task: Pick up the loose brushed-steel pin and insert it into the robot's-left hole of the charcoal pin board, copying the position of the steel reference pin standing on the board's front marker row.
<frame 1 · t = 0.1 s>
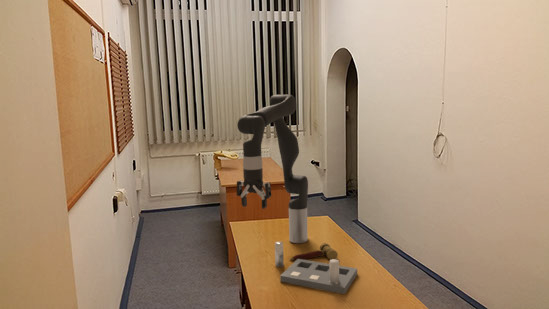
hand: (254, 207, 161), 29 cm above the table, tool pointing down, fingers open, 8 cm apart
gavel: (311, 259, 183), on the table
steel pin: (279, 265, 176), on the table
pin board: (319, 277, 162), on the table
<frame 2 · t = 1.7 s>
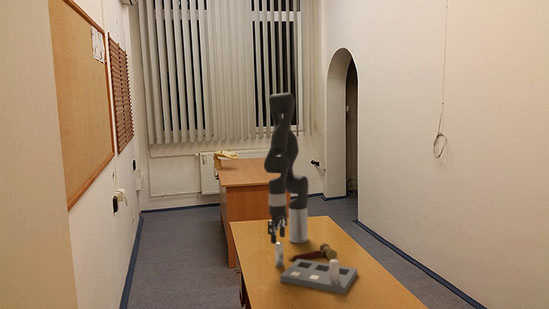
hand: (278, 240, 174), 11 cm above the table, tool pointing down, fingers open, 8 cm apart
nothing on the table moved.
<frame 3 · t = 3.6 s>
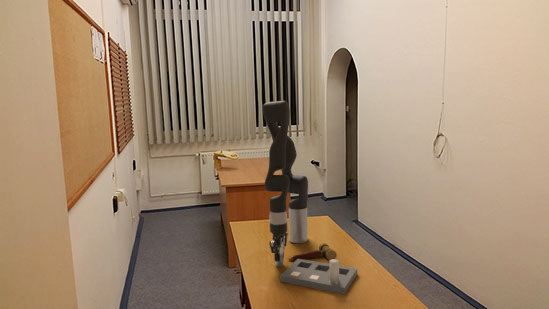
hand: (279, 259, 175), 3 cm above the table, tool pointing down, fingers closed on steel pin, 3 cm apart
steel pin: (279, 265, 176), on the table, touching gripper
everything else where it was.
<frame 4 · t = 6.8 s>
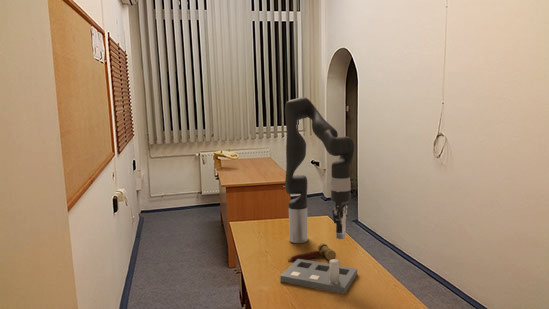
hand: (340, 230, 160), 19 cm above the table, tool pointing down, fingers closed on steel pin, 3 cm apart
steel pin: (340, 237, 160), point 17 cm above the table, touching gripper
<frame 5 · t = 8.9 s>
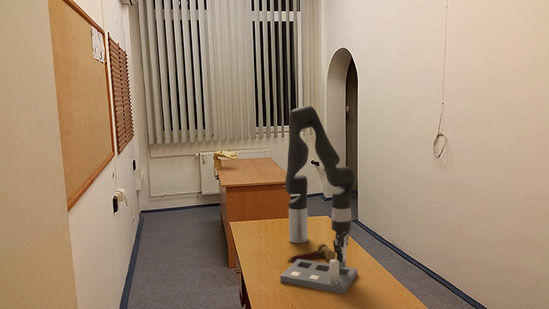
hand: (341, 259, 161), 7 cm above the table, tool pointing down, fingers closed on steel pin, 3 cm apart
steel pin: (341, 266, 162), point 5 cm above the table, touching gripper
when the fingers open (4 cm above the table, at t = 10.4 s): steel pin drops 1 cm, resting in pin board.
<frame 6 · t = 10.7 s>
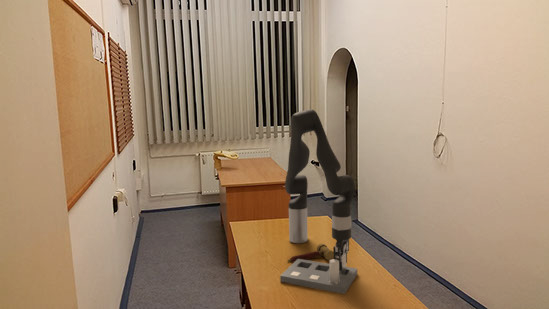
hand: (341, 266, 162), 5 cm above the table, tool pointing down, fingers open, 6 cm apart
steel pin: (341, 277, 163), resting in pin board
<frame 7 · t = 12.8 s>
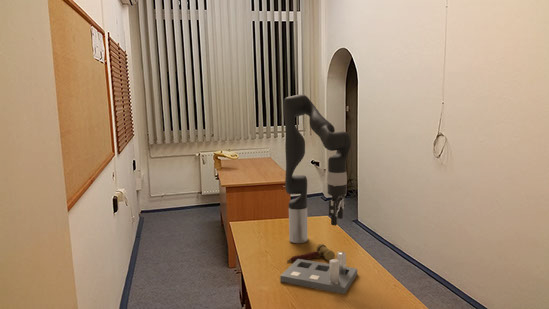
hand: (337, 221, 163), 22 cm above the table, tool pointing down, fingers open, 8 cm apart
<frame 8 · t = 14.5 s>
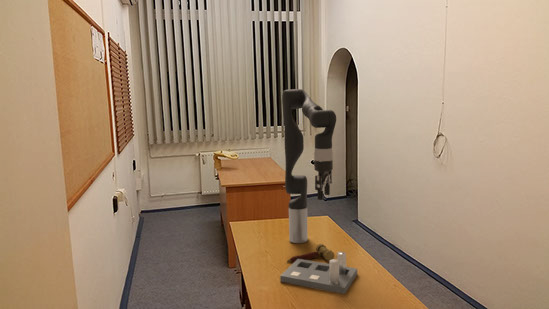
hand: (323, 197, 170), 30 cm above the table, tool pointing down, fingers open, 8 cm apart
at the end: steel pin 0.1 cm from the target spot, resting in pin board; steel pin tilted 0°; the gripper is holding nothing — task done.
